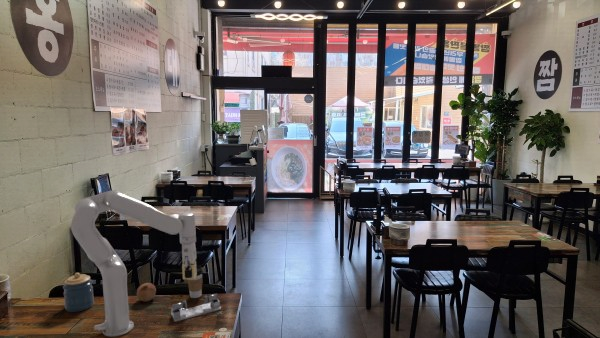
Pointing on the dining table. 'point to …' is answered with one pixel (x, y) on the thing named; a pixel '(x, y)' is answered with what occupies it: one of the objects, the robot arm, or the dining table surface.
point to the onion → (146, 292)
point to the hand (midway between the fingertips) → (189, 274)
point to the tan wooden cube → (194, 270)
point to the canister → (78, 293)
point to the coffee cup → (196, 284)
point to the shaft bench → (195, 308)
